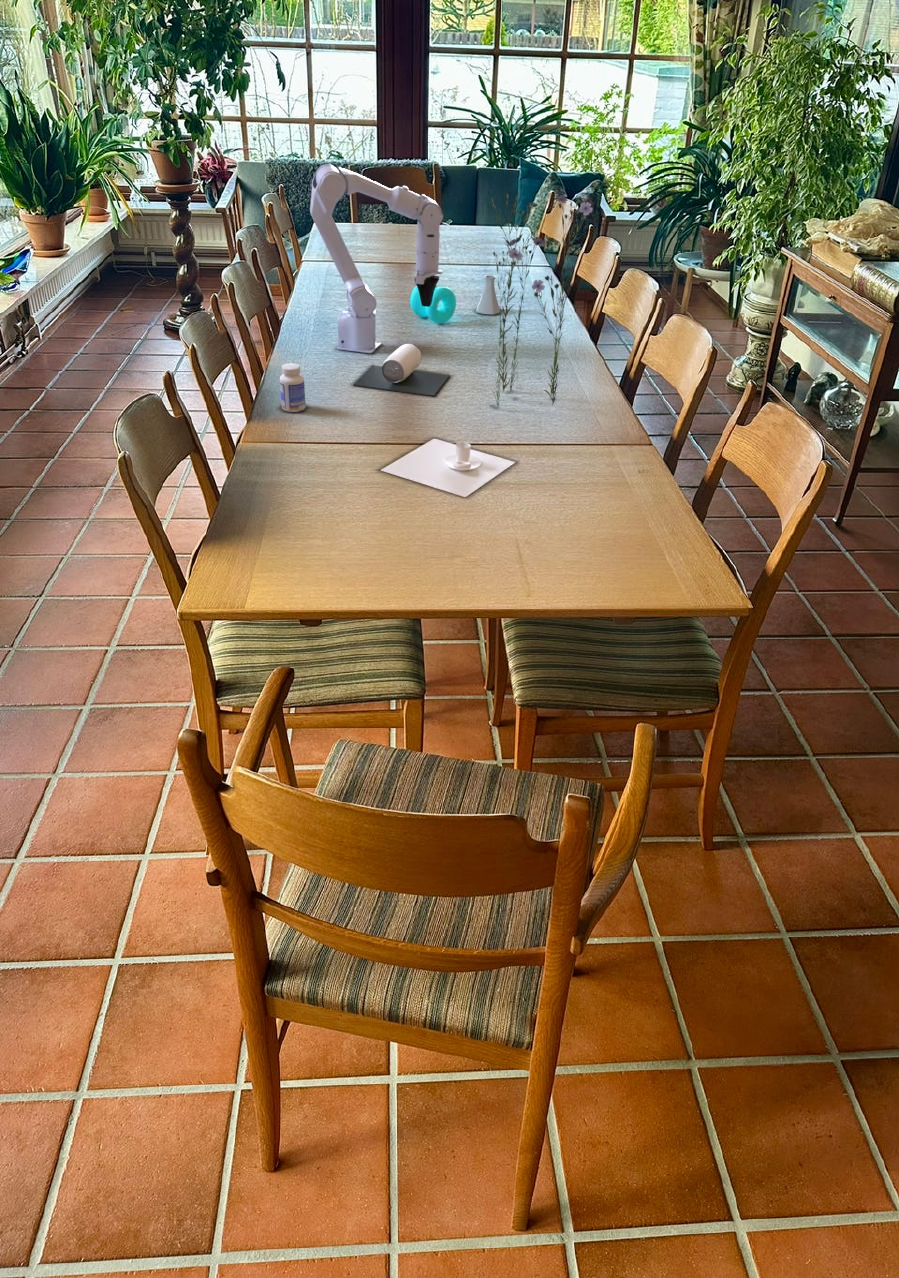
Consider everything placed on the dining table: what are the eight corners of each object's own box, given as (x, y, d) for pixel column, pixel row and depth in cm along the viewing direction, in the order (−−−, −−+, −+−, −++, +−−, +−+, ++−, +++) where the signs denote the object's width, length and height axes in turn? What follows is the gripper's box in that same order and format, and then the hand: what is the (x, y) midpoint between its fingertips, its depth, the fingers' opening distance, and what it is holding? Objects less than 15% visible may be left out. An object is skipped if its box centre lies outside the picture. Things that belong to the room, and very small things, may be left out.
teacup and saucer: (467, 477, 197) (468, 458, 195) (433, 466, 200) (434, 448, 198) (489, 462, 203) (490, 443, 201) (456, 452, 207) (457, 434, 204)
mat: (353, 385, 236) (353, 384, 236) (372, 366, 248) (372, 365, 247) (433, 396, 232) (434, 395, 232) (449, 376, 244) (449, 375, 244)
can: (424, 367, 245) (407, 383, 236) (400, 370, 247) (383, 385, 238) (419, 341, 242) (402, 356, 232) (395, 344, 244) (377, 359, 235)
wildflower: (463, 408, 227) (474, 198, 201) (496, 377, 244) (510, 180, 219) (557, 426, 220) (580, 211, 195) (584, 393, 238) (608, 191, 213)
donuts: (430, 327, 275) (431, 290, 269) (407, 318, 281) (408, 282, 276) (457, 321, 281) (459, 285, 275) (434, 312, 287) (435, 277, 281)
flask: (472, 312, 288) (473, 277, 282) (480, 306, 294) (482, 271, 288) (495, 316, 286) (497, 281, 280) (503, 310, 292) (506, 275, 286)
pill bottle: (309, 405, 225) (307, 364, 219) (299, 414, 220) (296, 371, 215) (288, 402, 226) (285, 360, 220) (277, 410, 222) (274, 367, 216)
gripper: (435, 259, 242) (433, 315, 250) (450, 246, 254) (448, 299, 262) (407, 256, 244) (407, 311, 251) (423, 243, 255) (422, 296, 263)
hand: (426, 305), depth 257 cm, fingers closed
